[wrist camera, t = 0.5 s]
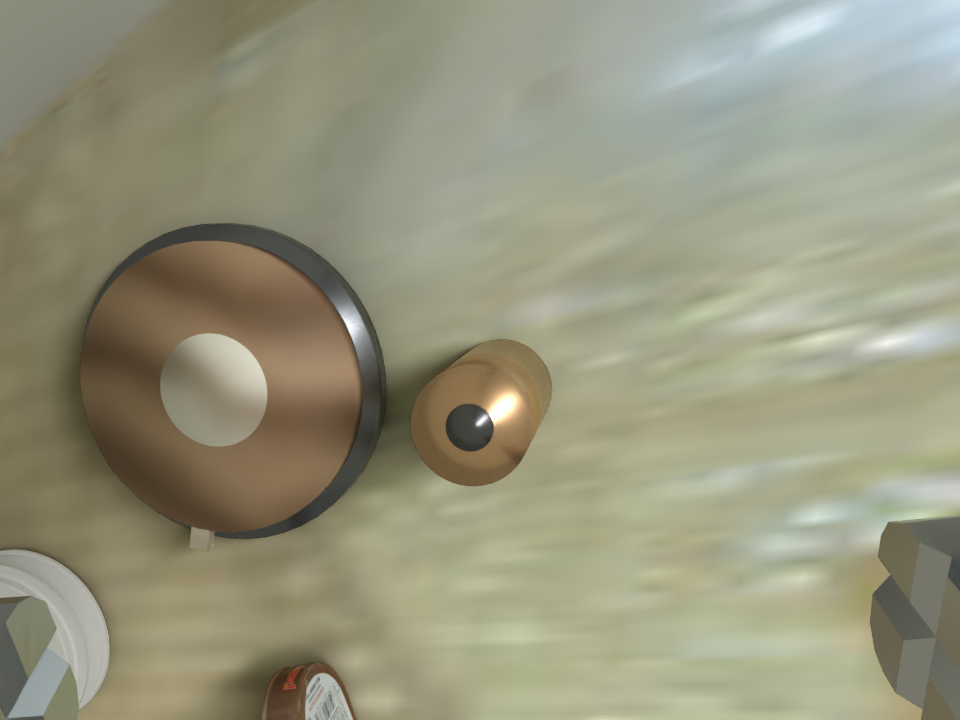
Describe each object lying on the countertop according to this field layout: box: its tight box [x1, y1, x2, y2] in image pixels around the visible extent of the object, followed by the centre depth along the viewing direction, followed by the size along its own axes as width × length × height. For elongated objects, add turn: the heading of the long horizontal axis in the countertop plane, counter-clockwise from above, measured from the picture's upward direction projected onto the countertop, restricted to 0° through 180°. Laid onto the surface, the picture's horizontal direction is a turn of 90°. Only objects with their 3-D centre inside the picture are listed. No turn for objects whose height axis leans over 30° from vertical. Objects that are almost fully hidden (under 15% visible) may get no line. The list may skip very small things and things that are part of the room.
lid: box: [0, 549, 110, 709], centre depth 59 cm, size 13×13×5 cm
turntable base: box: [81, 223, 387, 539], centre depth 55 cm, size 20×20×2 cm
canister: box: [411, 339, 552, 486], centre depth 48 cm, size 6×6×10 cm
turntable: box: [80, 240, 363, 552], centre depth 54 cm, size 20×18×2 cm
